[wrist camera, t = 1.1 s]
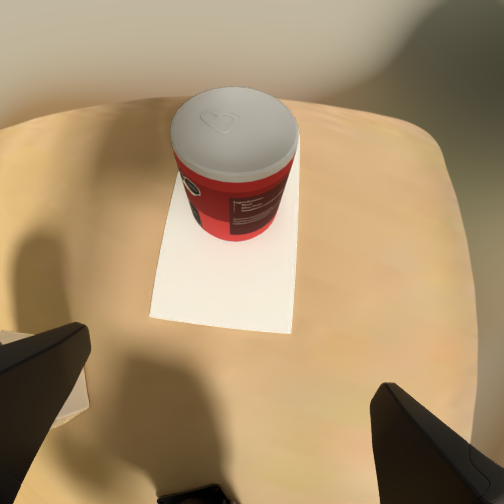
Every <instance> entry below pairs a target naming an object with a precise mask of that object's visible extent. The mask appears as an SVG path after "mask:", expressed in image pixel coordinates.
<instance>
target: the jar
mask: <svg viewBox="0 0 504 504" xmlns="http://www.w3.org/2000/svg"><path fill="white" fill-rule="evenodd" d="M33 335H35V334H27V333H20V332H13V331H6V330H0V345H4V344H7V343H10V342H13V341H17V340H20V339H23V338H26V337H29V336H33ZM89 407H90V404H89V399H88V393H87V387H86V381H85V373H84V367H83V369H82V371H81V373H80V375H79V378H78V380H77V382H76V384H75V386H74V388H73V390H72V392H71V394H70V395H69V397H68V399H67V400H66V402H65V404H64V405H63V407H62V409H61V410H60V412H59V414H58V416H57V417H56V419H55V421H54V423H53V424H52V426H51V428H50V429H53V428H55V427H58V426H61V425H63V424H65V423H66V422H68V421H69V420H71V419H72V418H74V417H75V416H77V415H78V414H80V413H82V412H83V411H85V410H86V409H88V408H89Z"/></svg>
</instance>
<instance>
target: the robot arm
mask: <svg viewBox="0 0 504 504" xmlns="http://www.w3.org/2000/svg"><path fill="white" fill-rule="evenodd" d="M90 352H91V342H90V335H89V329H88V327H87V326H86V325H84V324H81V323H79V322H74V323H70V324H67V325H64V326H61V327H58V328H55V329H52V330H48V331H45V332H42V333H39V334H36V335H33V336H29V337H26V338H23V339H20V340H17V341H13V342H10V343H7V344H4V345H0V504H13V503H14V500H15V498H16V496H17V493H18V491H19V489H20V487H21V484H22V482H23V480H24V478H25V476H26V474H27V472H28V470H29V468H30V466H31V464H32V462H33V460H34V458H35V456H36V454H37V452H38V450H39V448H40V446H41V444H42V443H43V441H44V439H45V437H46V435H47V433H48V432H49V430H50V428H51V426H52V424H53V423H54V421H55V419H56V417H57V416H58V414H59V412H60V410H61V409H62V407H63V405H64V404H65V402H66V400H67V399H68V397H69V395H70V394H71V392H72V390H73V388H74V386H75V384H76V382H77V380H78V378H79V375H80V373H81V371H82V369H83V367H84V365H85V363H86V361H87V359H88V357H89V355H90ZM370 417H371V432H372V447H373V454H374V460H375V467H376V474H377V481H378V488H379V496H380V504H504V468H503V467H501V466H500V465H498V464H497V463H495V462H494V461H492V460H491V459H489V458H488V457H486V456H485V455H484V454H482V453H481V452H480V451H478V450H477V449H476V448H475V447H473V446H472V445H471V444H469V443H468V442H467V441H466V440H464V439H463V438H462V437H461V436H459V435H458V434H457V433H456V432H455V431H453V430H452V429H451V428H450V427H448V426H447V425H446V424H445V423H443V422H442V421H441V420H440V419H438V418H437V417H436V416H435V415H433V414H432V413H431V412H430V411H429V410H427V409H426V408H425V407H424V406H422V405H421V404H420V403H419V402H417V401H416V400H415V399H414V398H413V397H411V396H410V395H409V394H408V393H406V392H405V391H404V390H403V389H402V388H400V387H399V386H398V385H397V384H395V383H387V382H385V383H382V384H381V385H380V387H379V388H378V390H377V392H376V393H375V395H374V397H373V398H372V400H371V403H370ZM213 488H218V490H214V489H213ZM161 500H163V501H164V502H161ZM157 503H158V504H236V503H235V501H234V500H233V499H229V498H228V496H227V495H226V493H225V492H224V490H223V489H222V487H221V486H220V485H218V484H211V485H208V486H204V487H201V488H197V489H193V490H189V491H185V492H180V493H176V494H171V495H166V496H161V497H159V498H158V499H157Z"/></svg>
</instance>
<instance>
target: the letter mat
mask: <svg viewBox="0 0 504 504" xmlns="http://www.w3.org/2000/svg"><path fill="white" fill-rule="evenodd" d="M299 155H300V133H299V138H298V145H297V150H296V154H295V157H294V161H293V164H292V168H291V171H290V174H289V177H288V180H287V183H286V186H285V189H284V192H283V195H282V199H281V202H280V205H279V208H278V211H277V214H276V216H275V219H274V221H273V222H272V224H271V225H270V226H269V228H268V229H267V230H265V231H264V232H263V233H262V234H260V235H258V236H256V237H254V238H252V239H249V240H246V241H239V242H233V241H225V240H221V239H219V238H217V237H214V236H212V235H210V234H209V233H208V232H206V231H205V230H203V228H202V227H201V226H200V225H199V224H198V223H197V221H196V220H195V218H194V216H193V213H192V210H191V207H190V204H189V201H188V198H187V195H186V192H185V188H184V185H183V182H182V179H181V175H180V172H179V171H178V174H177V178H176V182H175V186H174V190H173V194H172V199H171V203H170V207H169V212H168V216H167V221H166V225H165V230H164V235H163V239H162V244H161V250H160V255H159V260H158V265H157V271H156V277H155V283H154V289H153V295H152V302H151V308H150V315H149V317H153V318H159V319H165V320H172V321H178V322H185V323H192V324H200V325H207V326H215V327H223V328H232V329H242V330H252V331H262V332H274V333H287V334H291V328H292V316H293V302H294V287H295V271H296V252H297V230H298V203H299Z"/></svg>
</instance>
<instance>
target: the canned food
mask: <svg viewBox="0 0 504 504" xmlns="http://www.w3.org/2000/svg"><path fill="white" fill-rule="evenodd" d="M170 129H171V143H172V147H173V151H174V155H175V159H176V162H177V165H178V169H179V172H180V175H181V179H182V182H183V185H184V188H185V192H186V195H187V198H188V201H189V204H190V207H191V210H192V213H193V216H194V218H195V220H196V221H197V223H198V224H199V225H200V226H201V227H202V228H203V230H205V231H206V232H208V233H209V234H210V235H212V236H214V237H217V238H219V239H221V240H225V241H233V242H239V241H246V240H249V239H252V238H254V237H256V236H258V235H260V234H262V233H263V232H264V231H265V230H267V229H268V228H269V226H270V225H271V224H272V222H273V221H274V219H275V216H276V214H277V211H278V208H279V205H280V202H281V199H282V195H283V192H284V189H285V186H286V183H287V180H288V177H289V174H290V171H291V168H292V164H293V161H294V157H295V154H296V150H297V145H298V138H299V130H298V125H297V122H296V119H295V117H294V116H293V114H292V113H291V111H290V110H289V109H288V108H287V107H286V106H285V105H284V104H283V103H282V102H280V101H279V100H278V99H276V98H275V97H273V96H271V95H269V94H267V93H265V92H262V91H259V90H255V89H251V88H245V87H234V86H233V87H232V86H230V87H219V88H215V89H210V90H207V91H204V92H202V93H199V94H197V95H195V96H194V97H192V98H190V99H189V100H188V101H186V102H185V103H184V104H183V105H182V106H181V107H180V108H179V109H178V110H177V112H176V114H175V116H174V117H173V119H172V123H171V128H170Z"/></svg>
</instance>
